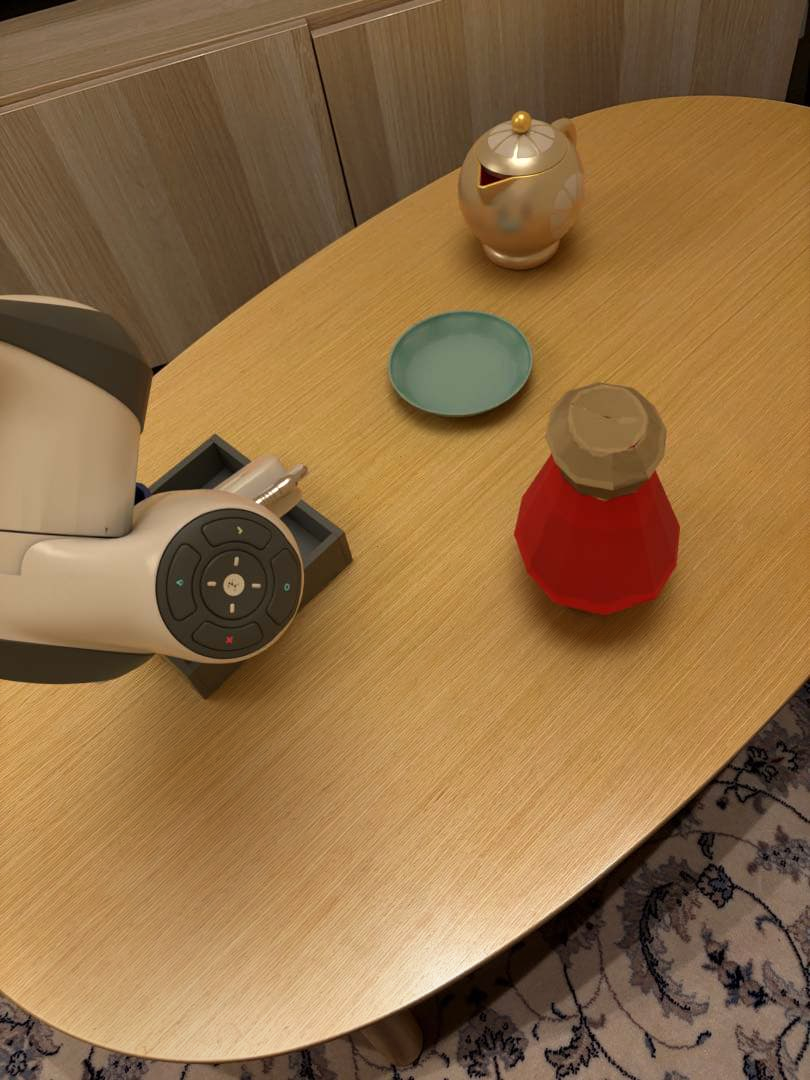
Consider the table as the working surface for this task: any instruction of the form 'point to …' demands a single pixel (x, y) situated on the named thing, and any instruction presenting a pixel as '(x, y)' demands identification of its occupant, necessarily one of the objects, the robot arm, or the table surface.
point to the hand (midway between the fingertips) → (158, 549)
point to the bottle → (600, 504)
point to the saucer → (460, 363)
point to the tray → (310, 529)
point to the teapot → (522, 189)
